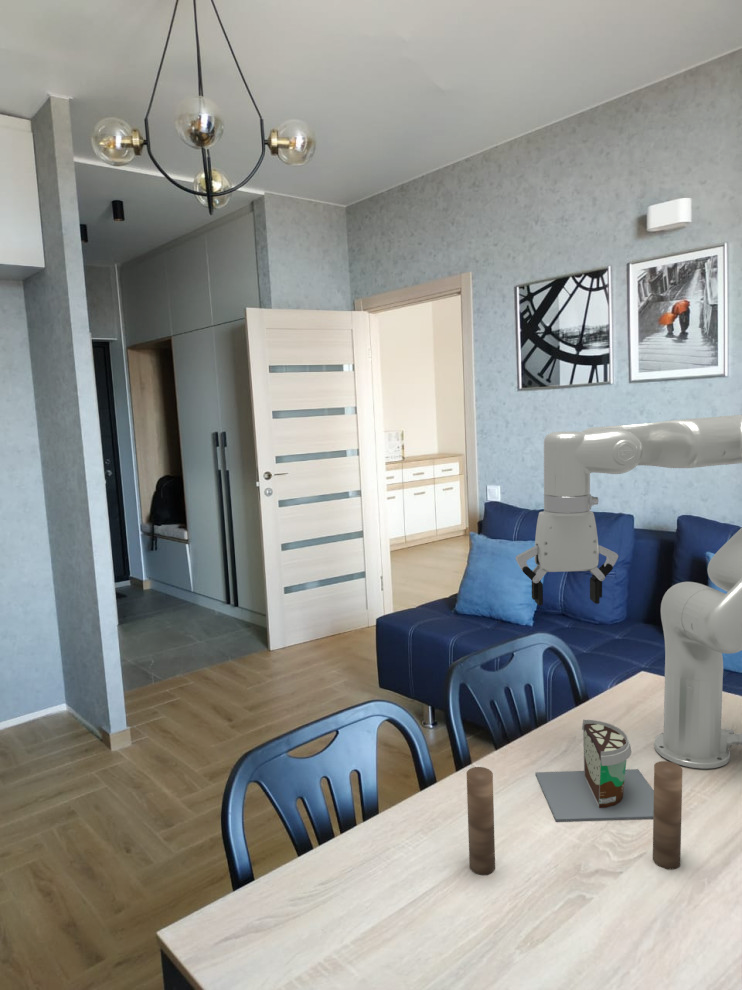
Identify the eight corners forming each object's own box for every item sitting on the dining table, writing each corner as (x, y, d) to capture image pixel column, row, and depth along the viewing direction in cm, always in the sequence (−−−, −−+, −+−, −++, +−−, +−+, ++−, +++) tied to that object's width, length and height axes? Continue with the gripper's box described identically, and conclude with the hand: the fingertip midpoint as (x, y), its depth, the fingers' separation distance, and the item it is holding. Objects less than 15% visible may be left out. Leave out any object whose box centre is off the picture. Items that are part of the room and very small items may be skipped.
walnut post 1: (492, 857, 101) (490, 766, 99) (497, 874, 97) (494, 779, 95) (467, 858, 101) (464, 767, 99) (471, 875, 97) (468, 781, 95)
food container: (641, 813, 109) (642, 753, 108) (601, 813, 110) (601, 753, 108) (617, 772, 122) (618, 717, 120) (582, 772, 122) (582, 718, 121)
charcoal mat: (638, 771, 122) (638, 769, 122) (671, 818, 108) (671, 815, 108) (535, 774, 123) (535, 772, 122) (556, 821, 109) (555, 819, 109)
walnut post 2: (673, 852, 100) (675, 760, 99) (684, 868, 97) (687, 774, 95) (648, 853, 100) (650, 761, 99) (658, 869, 97) (660, 774, 95)
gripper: (610, 499, 122) (609, 595, 124) (511, 503, 122) (512, 598, 124) (625, 506, 115) (624, 607, 117) (520, 509, 115) (521, 610, 117)
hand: (566, 602), depth 121 cm, fingers open, 9 cm apart
